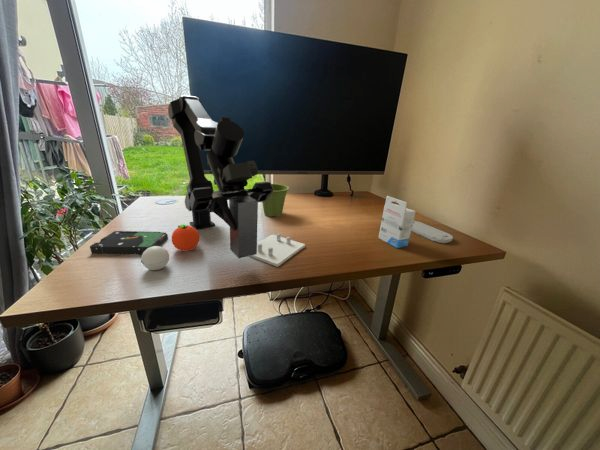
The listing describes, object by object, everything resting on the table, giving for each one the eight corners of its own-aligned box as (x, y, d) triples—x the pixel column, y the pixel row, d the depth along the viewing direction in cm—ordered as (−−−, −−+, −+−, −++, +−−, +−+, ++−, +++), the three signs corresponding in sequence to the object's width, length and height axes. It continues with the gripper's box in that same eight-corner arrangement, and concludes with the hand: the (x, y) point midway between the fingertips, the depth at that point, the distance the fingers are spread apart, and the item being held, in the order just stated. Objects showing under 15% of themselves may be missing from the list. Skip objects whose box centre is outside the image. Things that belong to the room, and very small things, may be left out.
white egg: (148, 263, 59) (143, 242, 57) (173, 261, 60) (170, 241, 58) (135, 281, 52) (130, 258, 50) (164, 279, 53) (160, 256, 51)
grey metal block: (230, 249, 58) (229, 197, 53) (247, 245, 60) (247, 195, 56) (238, 258, 54) (238, 203, 49) (256, 254, 57) (257, 201, 52)
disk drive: (91, 256, 61) (152, 256, 63) (88, 246, 60) (150, 246, 62) (116, 239, 71) (169, 239, 72) (114, 230, 70) (167, 230, 71)
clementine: (167, 247, 66) (163, 224, 64) (192, 240, 71) (189, 218, 69) (180, 258, 62) (176, 233, 59) (205, 250, 66) (203, 226, 64)
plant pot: (253, 217, 93) (253, 188, 89) (264, 208, 104) (264, 182, 99) (283, 221, 91) (284, 191, 86) (291, 211, 101) (292, 185, 97)
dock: (241, 253, 66) (241, 244, 65) (272, 236, 77) (272, 228, 76) (277, 266, 60) (277, 257, 59) (304, 246, 72) (305, 238, 70)
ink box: (408, 246, 76) (419, 201, 70) (397, 248, 74) (407, 202, 68) (388, 235, 83) (397, 194, 77) (377, 237, 81) (385, 195, 75)
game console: (458, 236, 80) (442, 239, 77) (455, 242, 81) (439, 246, 78) (413, 218, 95) (398, 220, 92) (412, 223, 96) (397, 226, 93)
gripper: (186, 147, 46) (210, 218, 42) (270, 147, 57) (295, 204, 53) (181, 180, 55) (201, 242, 51) (255, 175, 66) (275, 225, 62)
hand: (246, 227), depth 54 cm, fingers closed on grey metal block, 5 cm apart
